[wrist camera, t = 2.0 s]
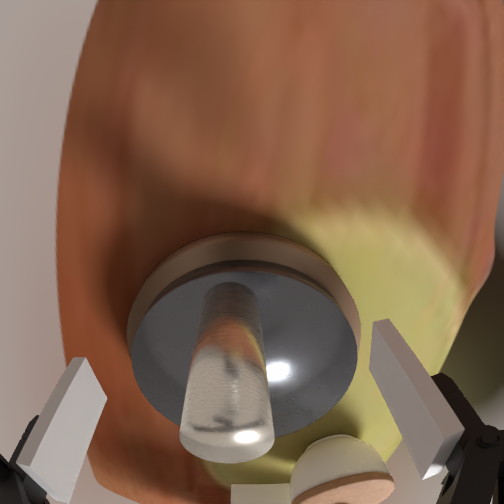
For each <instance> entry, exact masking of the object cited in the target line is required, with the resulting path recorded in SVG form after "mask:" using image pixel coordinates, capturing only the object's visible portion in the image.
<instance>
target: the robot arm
mask: <svg viewBox="0 0 504 504" xmlns="http://www.w3.org/2000/svg"><path fill="white" fill-rule="evenodd" d="M369 370H370V372H371V373H372V375H373V377H374V379H375V381H376V383H377V385H378V387H379V389H380V391H381V393H382V395H383V397H384V399H385V402H386V404H387V406H388V408H389V410H390V412H391V414H392V416H393V418H394V420H395V422H396V424H397V426H398V428H399V431H400V433H401V435H402V437H403V439H404V441H405V443H406V445H407V448H408V450H409V452H410V454H411V456H412V458H413V461H414V463H415V465H416V467H417V469H418V472H419V474H420V476H421V479H422V480H423V479H425V478H428V477H430V476H433V475H435V474H438V473H440V472H441V470H442V469H443V467H444V466H445V465H446V467H447V469H448V471H449V472H448V473H447V475H446V477H445V478H444V479H443V481H442V483H441V484H443V487H442V490H441V492H440V495H439V498H438V500H437V503H436V504H490V502H491V498H492V495H493V503H492V504H504V430H498V429H497V428H496V427H493V426H490V425H485V424H484V423H483V422H482V421H481V419H480V418H479V416H478V415H477V413H476V412H475V410H474V409H473V408H472V406H471V405H470V403H469V402H468V400H467V399H466V398H465V397H464V395H463V393H462V392H461V391H460V390H459V388H458V387H457V385H456V384H455V383H454V381H453V380H452V379H451V378H450V377H448V376H447V375H445V374H443V373H439V374H436V375H433V376H430V375H429V374H428V373H427V371H426V370H425V368H424V367H423V365H422V364H421V362H420V361H419V360H418V358H417V357H416V355H415V354H414V353H413V351H412V350H411V348H410V347H409V346H408V344H407V343H406V341H405V340H404V339H403V337H402V336H401V334H400V333H399V332H398V330H397V329H396V328H395V326H394V325H393V324H392V322H391V321H390V320H389V318H388V319H384V320H380V321H375V322H373V329H372V342H371V354H370V365H369ZM106 400H107V397H106V395H105V393H104V391H103V390H102V388H101V386H100V384H99V382H98V380H97V379H96V377H95V375H94V373H93V371H92V369H91V367H90V365H89V363H88V361H87V359H86V357H73V359H72V360H71V362H70V364H69V365H68V367H67V369H66V370H65V372H64V374H63V375H62V377H61V379H60V380H59V382H58V384H57V386H56V387H55V389H54V391H53V392H52V394H51V396H50V398H49V400H48V401H47V403H46V405H45V407H44V409H43V411H42V412H41V414H40V416H39V415H37V416H35V417H34V418H33V419H32V420H31V421H30V422H29V424H28V426H27V428H26V430H25V433H23V435H22V439H21V440H20V441H19V443H18V445H17V447H16V449H15V451H14V453H13V455H12V457H11V459H10V461H9V463H8V462H7V461H6V459H5V458H4V457H3V456H2V455H1V454H0V504H50V503H49V501H48V500H47V499H46V495H47V493H48V494H49V495H50V496H51V497H52V498H54V499H55V500H57V501H61V502H65V503H70V500H71V497H72V494H73V490H74V487H75V484H76V481H77V478H78V475H79V473H80V470H81V467H82V464H83V461H84V458H85V455H86V453H87V450H88V447H89V444H90V442H91V439H92V436H93V434H94V431H95V428H96V426H97V423H98V420H99V418H100V415H101V413H102V410H103V408H104V405H105V403H106Z"/></svg>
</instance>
